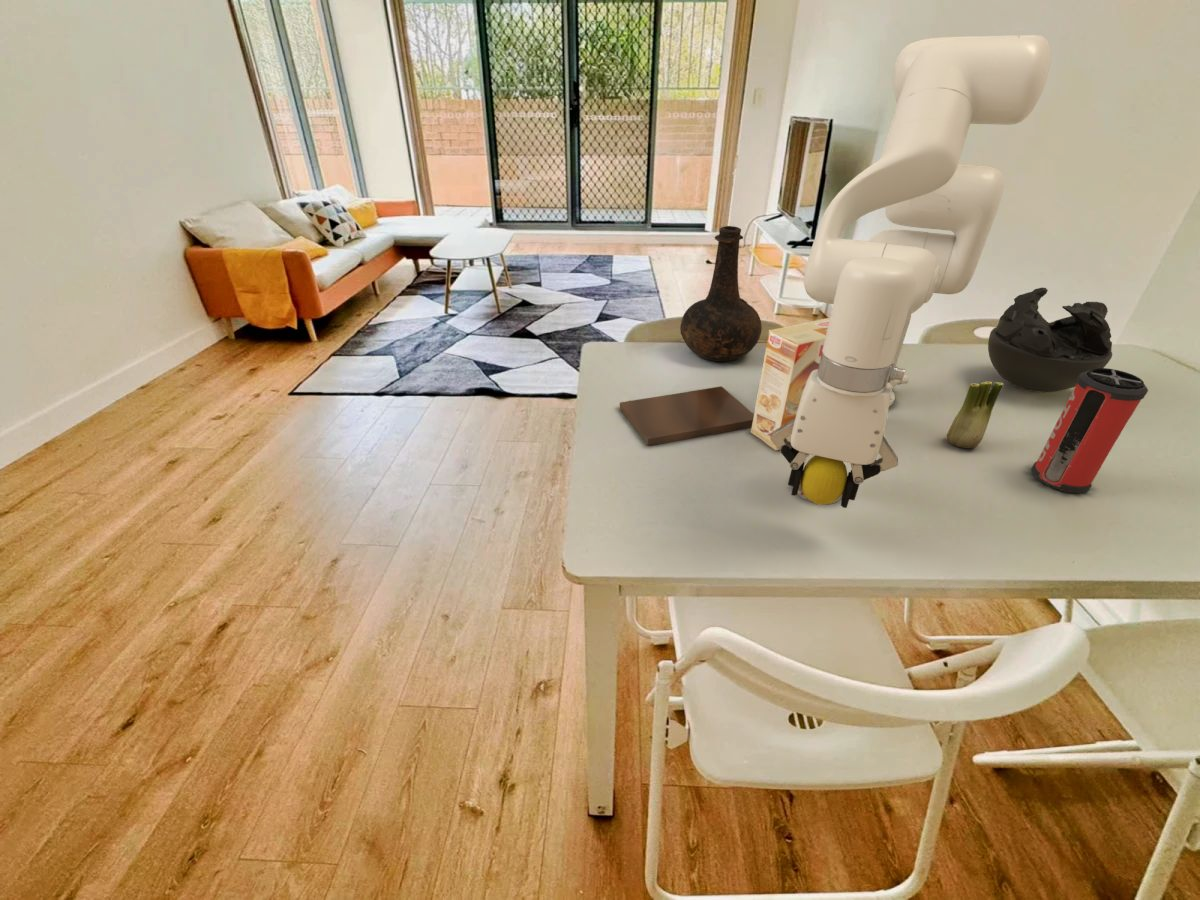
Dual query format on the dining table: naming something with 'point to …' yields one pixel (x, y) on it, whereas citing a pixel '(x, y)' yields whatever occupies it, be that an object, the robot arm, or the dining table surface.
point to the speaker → (1088, 428)
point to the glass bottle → (722, 309)
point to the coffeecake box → (786, 375)
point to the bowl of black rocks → (1049, 344)
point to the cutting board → (686, 415)
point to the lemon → (823, 480)
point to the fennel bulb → (974, 415)
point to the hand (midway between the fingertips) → (819, 494)
